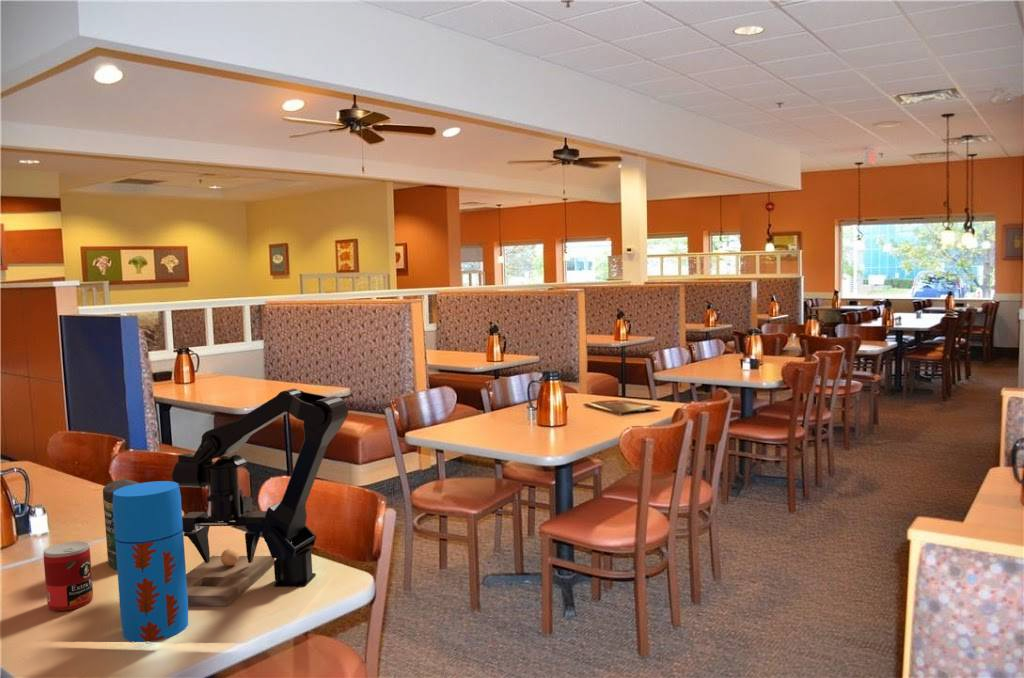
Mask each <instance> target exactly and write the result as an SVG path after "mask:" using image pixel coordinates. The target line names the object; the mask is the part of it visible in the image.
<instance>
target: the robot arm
mask: <svg viewBox="0 0 1024 678" xmlns="http://www.w3.org/2000/svg"><path fill="white" fill-rule="evenodd" d="M288 413H289V414H290V415H291V416H292V417H294V418H295V419H296V420H300V421H303V425H302V427H303V434H304V439H303V443H302V445H301V448H300V451H299V454H298V456H297V459H296V462H295V465H294V467H293V469H292V472H291V474H290V477H289V480H288V483H287V485H286V488H285V491H284V494H283V496H282V499H281V501H279V502H277V503H275V504H273V505H271V506H269V507H267V509H266V510H256V511H254V512H252V509H253V508H252V507H253V497H250V496H245V495H244V493H243V490H242V489H243V488H240V483H239V480H240V479H239V468H240V467H243V466H247V464H248V461H247V460H246V459H244V458H243V457H242V456H240V454H239V453H237V454H234V455H232V456H230V457H223V456H225V455H228V454H232V453H234V452H237V450H239V449H240V448H241V447H242V446H243V445H245V444H246V443H247V442H248V440H249V438H250V437H251V436H252V435H253V434H255V433H256V432H259V430H262V429H263V428H265V427H267V426H268V425H270V424H271V423H273V422H275V421H276V420H279V419H280V418H282V417H283V416H285V415H286V414H288ZM348 416H349V407H348V406H347V404H346V402H345V401H344V400H343V399H342V398H341V397H339V396H335V395H333V396H332V395H331V396H326V395H323V394H316V393H312V392H306V391H304V390H301V389H300V390H299V389H297V388H291V389H286V390H283V391H279V392H278V394H277V395H275V396H274V397H272V398H271V399H269V400H268V401H266V402H264V403H263V404H261V405H259V406H258V407H256V408H254V409H253V410H251V411H249V412H248V413H246V414H245V415H243V416H241V417H240V418H238V419H237V420H234V421H232V422H229V423H227V424H223V425H220V426H218V427H215V428H211V429H209V430H206V431H205V432H204V433H203V434H202V435H201V441H200V442H201V443H200V444H199V447H198V448H197V450H196V451H195V453H194V454H192V453H189V452H188V453H181V454H179V455H178V456H177V460H178V461H177V462H176V463H175V465H174V466H173V471H172V473H171V478H172V482H176V483H178V484H179V488H188V487H189V488H205V487H207V486H208V489H209V495H208V496H206V502H209V503H210V515H208V513H207V512H206V511H190V512H188V513H186V514H184V515H182V522H183V537H187V538H188V539H189V540H190V542H191V543H192V544H193V545H194V547H195V548H196V550H197V551H198V554H199V556H200V557H201V558H202V560H203V562H204V561H205V563H208V562H209V561H210V557H211V553H210V546H209V545H210V543H209V531H210V527H245V529H246V530H247V532H245V533H244V538H245V548H246V556H247V559H248V563H251V562H252V561H253V557H254V556H255V554H256V551H257V546H258V544H259V540H260V538H261V537H263V539H264V542H265V543H266V546H267V548H268V550H269V554H270V556H272V558H275V561H274V565H273V568H274V569H273V572H274V581H275V583H274V584H273V587H274V588H304V587H307V585H309V583H311V581H312V580H313V579H315V578H316V576H317V574H316V573H315V572H314V573H313V560H312V558H313V557H312V547H314V546H315V544H316V541H317V535H316V534H315V533H314V532H313V531H312V530H311V529H310V528H309V527H308V525H306V523H307V517H308V516H307V509H306V504H307V501H308V499H309V496H310V493H311V490H312V487H313V485H314V482H315V481H316V477H317V475H318V472H319V469H320V468H321V467H320V466H321V464H322V461H323V459H324V456H325V453H326V450H327V448H328V446H329V444H330V442H331V441H332V440H333V438H334V437H335V436H336V434H338V432H339V431H340V430H341V428H342V426H343V425H344V423H345V421H346V420H347V418H348ZM217 458H218V459H217ZM214 459H216V460H214ZM246 513H247V514H249V513H250V514H249V515H247V516H246V515H245V514H246ZM241 515H242V516H241ZM243 515H245V516H243Z"/></svg>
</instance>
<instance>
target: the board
mask: <svg viewBox="0 0 1024 678" xmlns="http://www.w3.org/2000/svg"><path fill="white" fill-rule="evenodd" d="M275 560H276V558H272V556H271V555H254V557H253V561H252V562H251V563H248V559H247V555H239V558H238V561H237V563H236V564H234V565H232V566H226V565H224V564H223V563H222V562H221V555H210V561H209V562H208V563H205V561H204V560H203V562H201V563H200V564H199V565H197V566H195V567H194V568H192V569H191V570H190V571H189V572H186V581H187V596H188V607H228V606H231V604H232V603H233V602H234V601H235V600H236V599H238V598H239V597H240V596H241V595H242V594H244V593H245V592H246V591H247V590H248V589H249V588H251V586H252V585H254V584H255V583H256V582H257V581H259V579H261V578H262V577H263V576H264V575H265V574H266V573H267V572H268V571H269V570H270V569H271V568H272V567H274V561H275Z"/></svg>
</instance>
